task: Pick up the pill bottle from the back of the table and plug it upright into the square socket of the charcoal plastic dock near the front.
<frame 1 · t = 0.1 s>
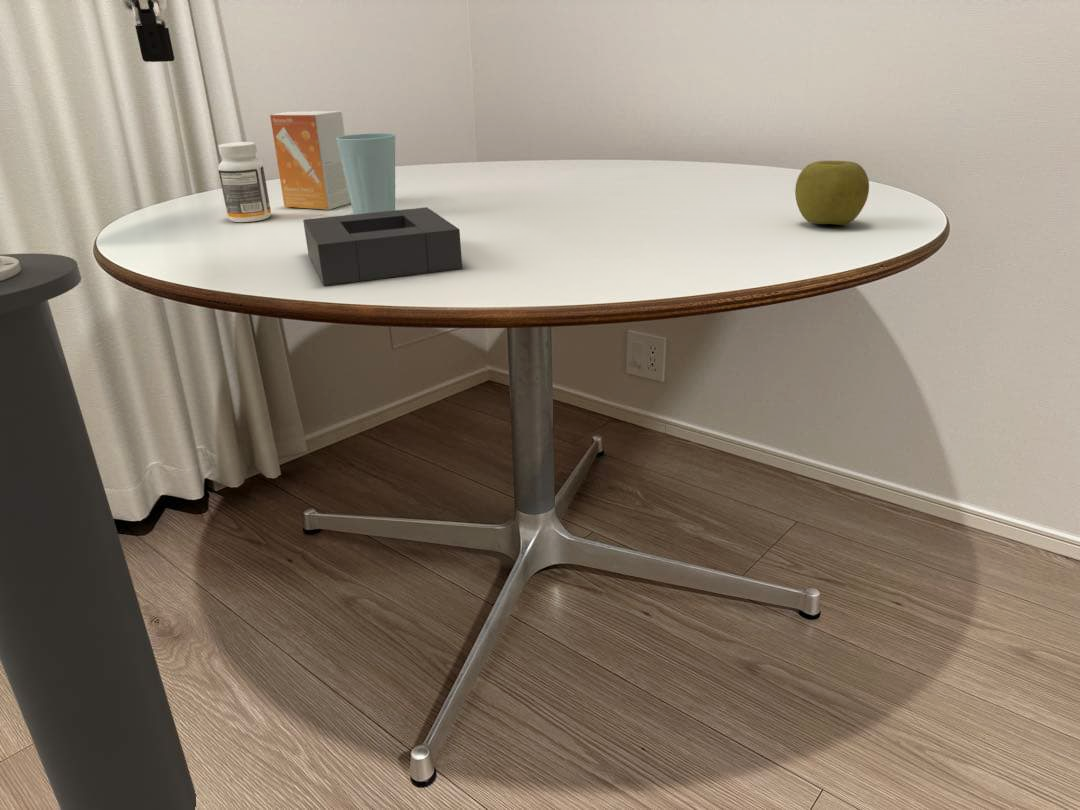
hand: (159, 61, 100), 20 cm above the table, tool pointing down, fingers open, 9 cm apart
dock: (382, 261, 83), on the table
pill bottle: (250, 220, 109), on the table
cup: (375, 217, 108), on the table
small box: (319, 206, 117), on the table
apple: (827, 226, 93), on the table
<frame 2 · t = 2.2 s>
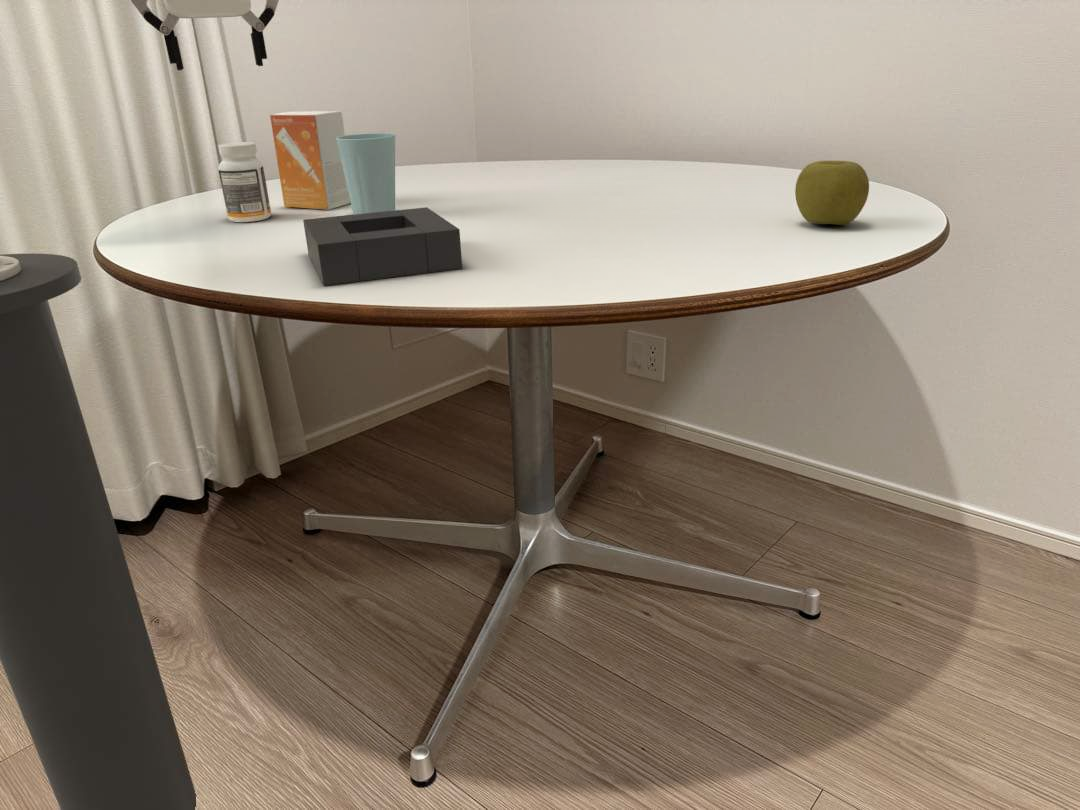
hand: (220, 67, 101), 19 cm above the table, tool pointing down, fingers open, 9 cm apart
nothing on the table moved.
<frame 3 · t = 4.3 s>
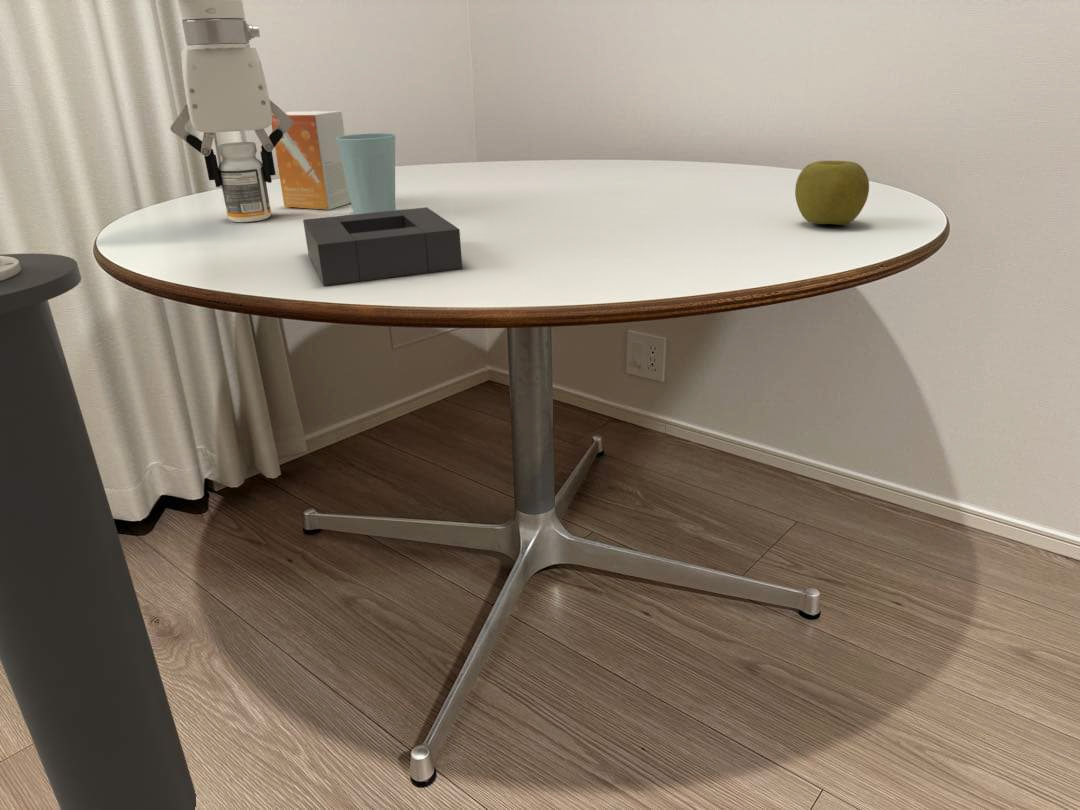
hand: (243, 182, 107), 5 cm above the table, tool pointing down, fingers closed on pill bottle, 5 cm apart
pill bottle: (250, 220, 109), on the table, touching gripper
everything else where it was.
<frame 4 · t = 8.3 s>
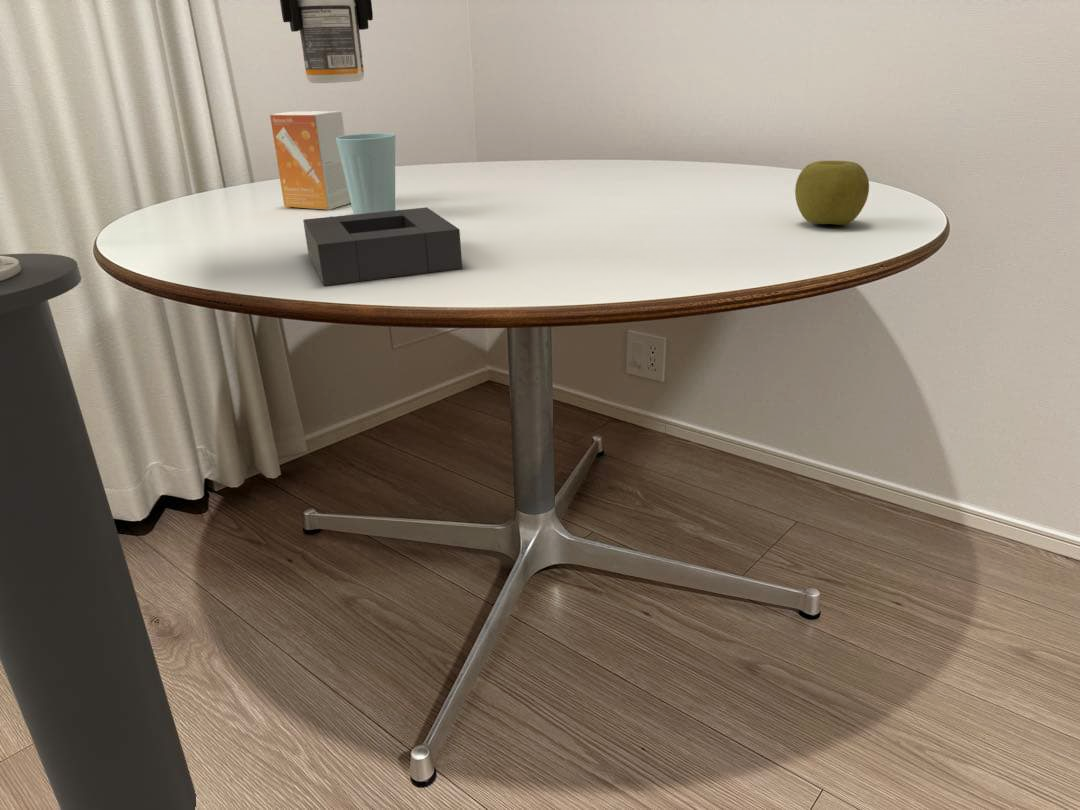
hand: (329, 28, 78), 23 cm above the table, tool pointing down, fingers closed on pill bottle, 5 cm apart
pill bottle: (336, 84, 80), point 17 cm above the table, touching gripper
everything else where it was.
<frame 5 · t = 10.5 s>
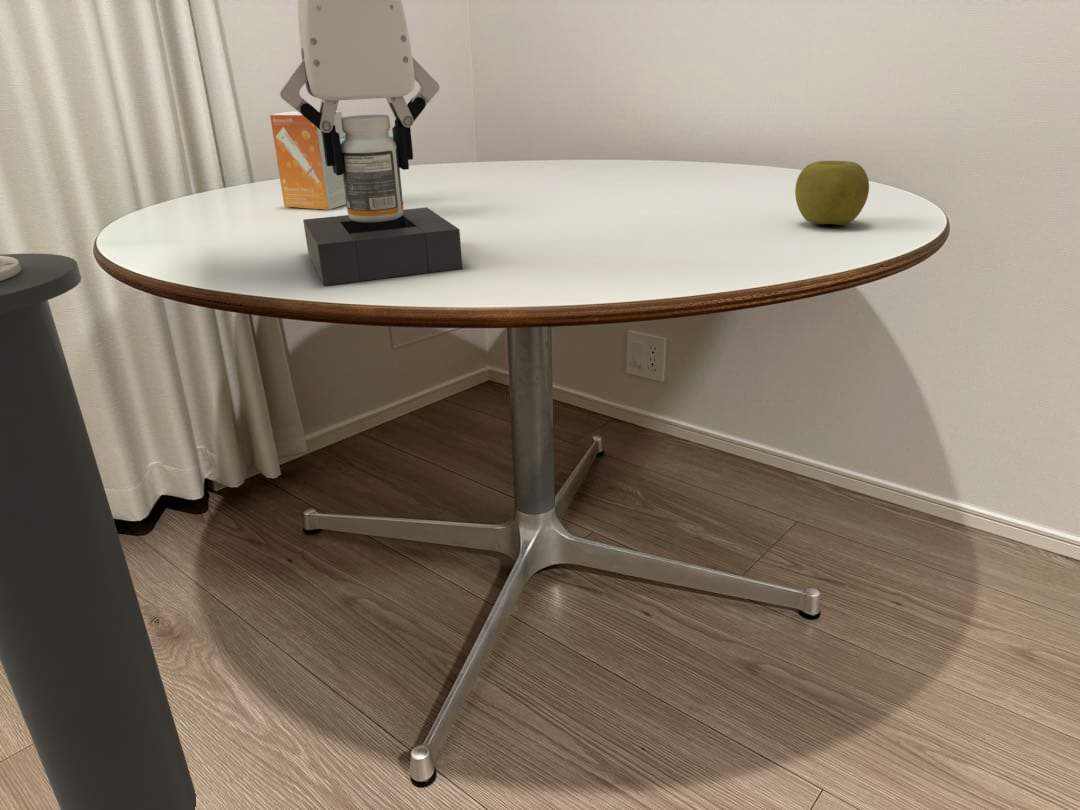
hand: (370, 168, 80), 10 cm above the table, tool pointing down, fingers closed on pill bottle, 5 cm apart
pill bottle: (377, 220, 82), point 4 cm above the table, touching gripper
everything else where it was.
when the fingers open (5 cm above the table, at t = 12.3 s): pill bottle stays where it is, resting in dock.
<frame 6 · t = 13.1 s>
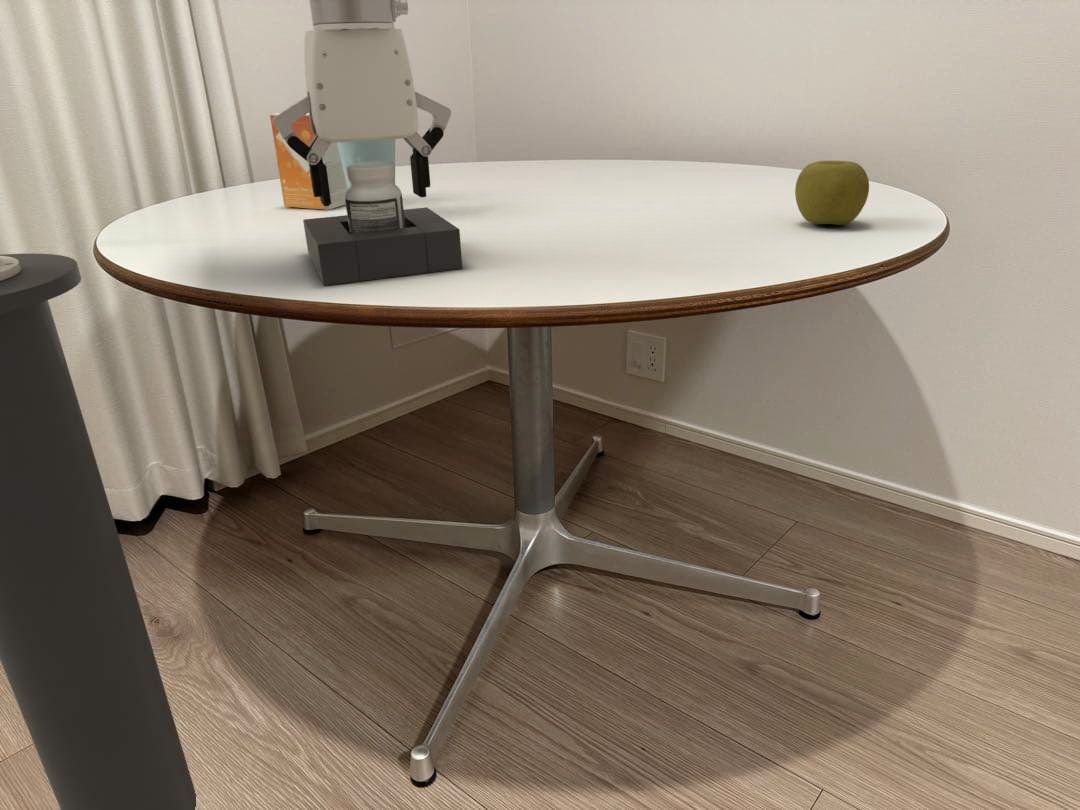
hand: (373, 199, 81), 6 cm above the table, tool pointing down, fingers open, 9 cm apart
pill bottle: (381, 263, 84), resting in dock
everything else where it was.
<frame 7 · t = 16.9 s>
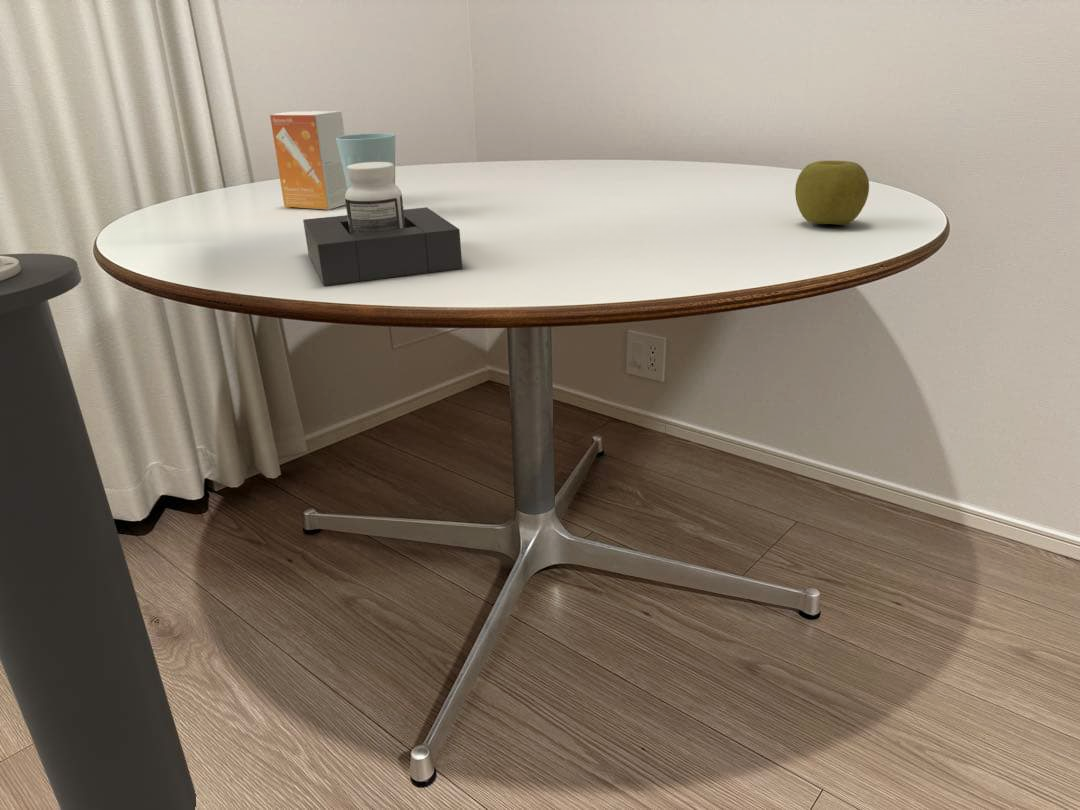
nothing on the table moved.
at the end: pill bottle 0.1 cm off-centre in the dock, point 0.0 cm above the dock's base; pill bottle tilted 0°; the gripper is holding nothing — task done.
